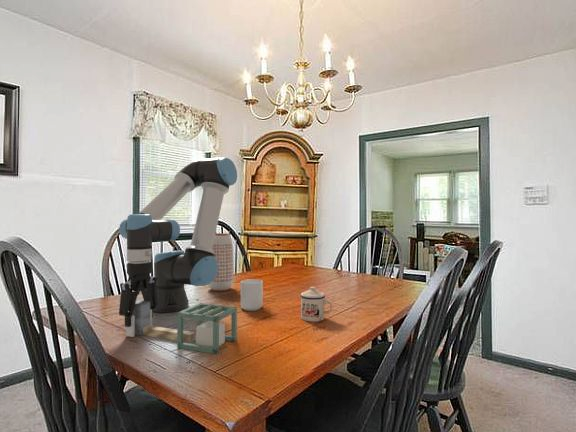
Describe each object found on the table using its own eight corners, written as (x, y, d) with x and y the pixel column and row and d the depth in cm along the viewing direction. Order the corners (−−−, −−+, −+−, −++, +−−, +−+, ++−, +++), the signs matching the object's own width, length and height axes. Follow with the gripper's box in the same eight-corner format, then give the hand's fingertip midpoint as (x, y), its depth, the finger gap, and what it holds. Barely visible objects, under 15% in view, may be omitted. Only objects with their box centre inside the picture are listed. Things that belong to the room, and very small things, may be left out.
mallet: (128, 333, 115) (128, 302, 115) (138, 330, 118) (138, 300, 118) (188, 343, 107) (188, 310, 106) (196, 339, 110) (196, 307, 110)
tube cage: (177, 347, 104) (177, 312, 103) (200, 334, 114) (200, 303, 114) (216, 354, 99) (216, 317, 99) (236, 340, 109) (236, 307, 109)
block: (196, 346, 104) (196, 326, 104) (207, 339, 110) (207, 320, 110) (213, 349, 102) (213, 328, 102) (224, 342, 108) (224, 322, 108)
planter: (231, 292, 173) (231, 234, 173) (204, 292, 174) (204, 234, 173) (235, 286, 187) (235, 233, 186) (210, 286, 187) (210, 232, 187)
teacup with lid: (297, 320, 130) (297, 288, 129) (304, 313, 138) (304, 283, 138) (329, 324, 125) (329, 291, 125) (335, 317, 134) (335, 286, 134)
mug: (255, 312, 140) (255, 284, 140) (236, 309, 143) (236, 282, 143) (269, 305, 151) (269, 278, 151) (251, 302, 154) (251, 277, 154)
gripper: (124, 266, 105) (124, 344, 105) (169, 258, 123) (169, 324, 124) (105, 265, 107) (105, 341, 108) (152, 257, 126) (151, 322, 126)
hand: (139, 332), depth 116 cm, fingers open, 7 cm apart
